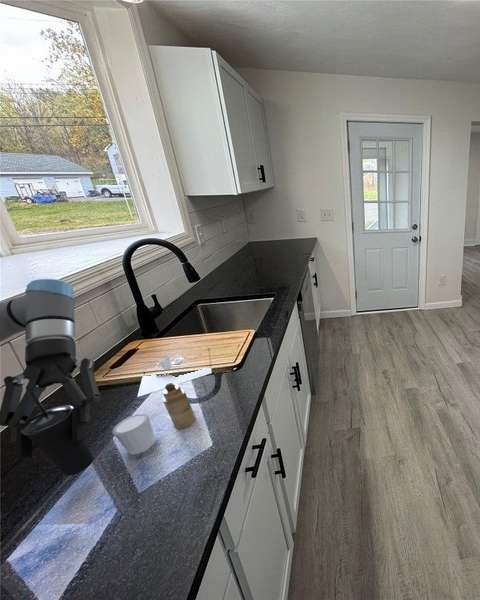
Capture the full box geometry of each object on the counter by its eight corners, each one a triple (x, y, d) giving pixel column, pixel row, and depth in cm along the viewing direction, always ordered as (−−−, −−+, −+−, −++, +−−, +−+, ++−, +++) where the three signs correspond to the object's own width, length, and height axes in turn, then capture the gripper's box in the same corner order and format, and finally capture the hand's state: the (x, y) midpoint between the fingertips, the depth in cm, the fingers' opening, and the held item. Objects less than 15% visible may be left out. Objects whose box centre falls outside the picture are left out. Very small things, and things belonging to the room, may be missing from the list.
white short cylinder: (144, 456, 74) (133, 434, 71) (116, 457, 74) (104, 435, 71) (165, 433, 80) (155, 412, 77) (139, 434, 80) (128, 413, 77)
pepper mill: (172, 423, 83) (155, 385, 78) (192, 413, 86) (177, 375, 81) (177, 432, 80) (159, 392, 75) (198, 421, 83) (182, 382, 78)
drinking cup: (101, 445, 74) (59, 376, 66) (103, 464, 69) (57, 392, 61) (55, 466, 69) (4, 394, 61) (54, 489, 64) (-2, 413, 56)
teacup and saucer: (185, 359, 112) (181, 349, 111) (184, 370, 106) (180, 360, 105) (155, 368, 108) (151, 358, 107) (153, 379, 102) (148, 369, 100)
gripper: (117, 336, 77) (124, 430, 70) (2, 361, 69) (-3, 470, 62) (99, 326, 70) (105, 428, 63) (-30, 352, 63) (-40, 472, 55)
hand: (52, 448), depth 63 cm, fingers closed on drinking cup, 8 cm apart
